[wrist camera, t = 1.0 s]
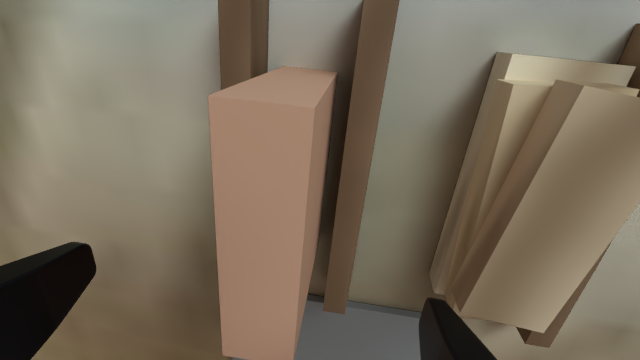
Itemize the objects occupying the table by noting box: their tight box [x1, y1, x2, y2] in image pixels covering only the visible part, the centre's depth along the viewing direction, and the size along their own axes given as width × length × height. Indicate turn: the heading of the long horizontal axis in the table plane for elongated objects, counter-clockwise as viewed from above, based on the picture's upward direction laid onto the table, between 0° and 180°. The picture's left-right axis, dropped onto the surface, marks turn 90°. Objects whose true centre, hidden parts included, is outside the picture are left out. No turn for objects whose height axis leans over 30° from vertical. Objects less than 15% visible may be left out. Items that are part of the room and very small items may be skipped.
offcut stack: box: [429, 52, 640, 333], centre depth 14 cm, size 5×12×4 cm, turn 175°
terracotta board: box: [208, 66, 338, 360], centre depth 13 cm, size 2×9×8 cm, turn 175°
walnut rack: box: [218, 0, 640, 348], centre depth 15 cm, size 17×15×2 cm
